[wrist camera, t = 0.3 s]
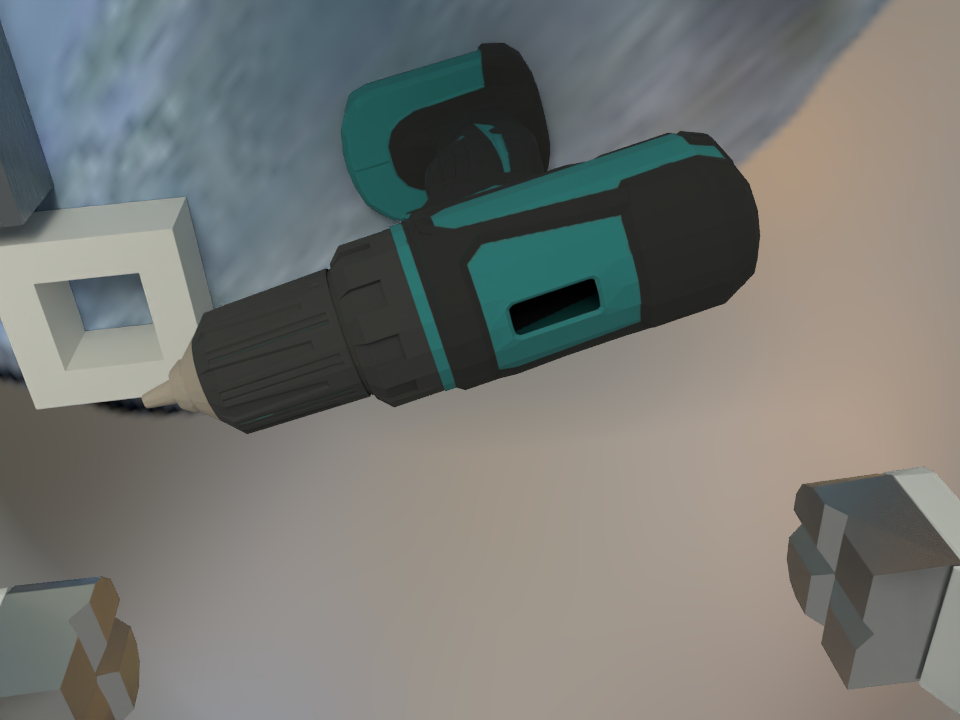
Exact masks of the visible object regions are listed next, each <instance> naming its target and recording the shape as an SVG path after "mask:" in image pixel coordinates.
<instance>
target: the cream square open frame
mask: <svg viewBox="0 0 960 720" xmlns="http://www.w3.org/2000/svg"><path fill="white" fill-rule="evenodd" d="M133 273H139V275H140V278H141V282H142V285H143V289H144V292H145V295H146V299H147V302H148V306H149V309H150V313H151V316H152V320H153V323H154V324H146V325H137V326H128V327H119V328H110V329H100V330H91V331H85V328H84V325H83V323H82V320H81V317H80V314H79V311H78V308H77V305H76V302H75V299H74V296H73V293H72V290H71V287H70V284H69V281H68V280H76V279H86V278H95V277H105V276H114V275H124V274H133ZM211 310H213V305H212V300H211V296H210V292H209V288H208V284H207V280H206V276H205V272H204V268H203V264H202V260H201V256H200V252H199V248H198V244H197V240H196V236H195V232H194V228H193V224H192V219H191V215H190V211H189V207H188V203H187V199H186V197H178V198H168V199H159V200H149V201H139V202H129V203H119V204H109V205H99V206H89V207H79V208H69V209H59V210H49V211H39V212H33V213H32V214H31V216H30V217H29V218H28V219H27V221H26V222H25V223H24V225H18V226H8V227H0V318H1V321H2V323H3V326H4V328H5V331H6V333H7V336H8V339H9V341H10V344H11V346H12V349H13V351H14V354H15V356H16V359H17V362H18V364H19V367H20V369H21V372H22V374H23V377H24V379H25V382H26V385H27V387H28V390H29V392H30V395H31V397H32V400H33V402H34V405H35V407H36V409H43V408H52V407H61V406H70V405H78V404H87V403H96V402H105V401H113V400H122V399H131V398H139V397H142V395H143V394H145V393H146V392H148V391H150V390H152V389H153V388H155V387H157V386H159V385H160V384H162V383H164V382H166V381H167V380H169V376H168V375H169V372H170V370H171V369H172V367H173V366H174V365H175V363H176V362H177V361H178V360H180V359H182V357H183V355H184V353H185V351H186V349H187V347H188V345H189V343H190V341H191V339H192V337H193V335H194V334H195V331H196V329H197V327H198V325H199V322H200V320H201V318H202V315H203V313H205V312H208V311H211Z"/></svg>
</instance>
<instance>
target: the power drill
mask: <svg viewBox="0 0 960 720" xmlns="http://www.w3.org/2000/svg"><path fill="white" fill-rule="evenodd" d="M341 136H342V146H343V155H344V158H345V162H346V165H347V169H348V172H349V174H350V177H351V179H352V181H353V183H354V186H355V188H356V189H357V191H358V192H359V194H360V195H361V197H362V198H363V200H364V201H365V203H366V204H367V205H368V206H369V207H371V208H372V209H374V210H375V211H377V212H378V213H380V214H382V215H384V216H386V217H388V218H390V219H393V220H402V222H401V223H400V224H397V225H394V226H391V227H390V228H389V229H386V230H383V231H382V232H379V233H376V234H373V235H370V236H367V237H364V238H361V239H358V240H355V241H352V242H349V243H346V244H343V245H340V246H338V248H337V250H336V252H335V254H334V257H333V259H332V261H331V263H330V269H329V270H328V269H323V270H320V271H318V272H315V273H312V274H309V275H307V276H304V277H301V278H299V279H296V280H293V281H290V282H288V283H285V284H282V285H279V286H277V287H274V288H271V289H268V290H266V291H263V292H260V293H257V294H255V295H252V296H249V297H246V298H244V299H241V300H238V301H235V302H233V303H230V304H227V305H224V306H222V307H219V308H216V309H213V310H211V311H208V312H205V313H203V315H202V318H201V320H200V322H199V325H198V327H197V329H196V331H195V334H194V335H193V337H192V339H191V341H190V343H189V345H188V347H187V349H186V351H185V353H184V355H183V357H182V359H180V360H178V361H177V362H176V363H175V365H174V366H173V367H172V369H171V370H170V372H169V375H168V376H169V380H167V381H166V382H164V383H162V384H160V385H159V386H157V387H155V388H153V389H152V390H150V391H148V392H146V393H145V394H143V395H142V401H143V404H144V405H145V407H146V408H153V407H158V406H164V405H170V404H176V403H178V405H179V406H180V408H182V409H184V410H188V411H192V412H196V413H198V412H202V413H205V414H207V415H209V416H211V417H214V418H216V419H218V420H220V421H222V422H225V423H227V424H229V425H231V426H233V427H235V428H236V429H238V430H240V431H242V432H244V433H246V434H249V433H252V432H255V431H259V430H262V429H265V428H269V427H272V426H275V425H278V424H282V423H285V422H288V421H292V420H295V419H298V418H301V417H305V416H308V415H311V414H314V413H317V412H321V411H324V410H327V409H330V408H334V407H337V406H340V405H343V404H347V403H350V402H353V401H357V400H360V399H363V398H366V397H370V395H371V394H372V395H375V396H376V398H377V399H379V400H381V401H383V402H385V403H387V404H389V405H391V406H393V407H397V406H399V405H402V404H405V403H408V402H411V401H414V400H417V399H420V398H423V397H426V396H429V395H432V394H435V393H438V392H441V391H444V390H445V391H447V390H450V389H453V388H456V387H457V388H460V389H464V390H467V389H470V388H473V387H476V386H478V385H481V384H484V383H487V382H490V381H493V380H496V379H499V378H502V377H507V376H511V375H515V374H518V373H521V372H524V371H526V370H529V369H532V368H534V367H537V366H540V365H543V364H545V363H548V362H551V361H553V360H556V359H559V358H561V357H564V356H567V355H569V354H573V353H575V352H579V351H581V350H584V349H587V348H590V347H593V346H596V345H599V344H602V343H605V342H608V341H611V340H614V339H617V338H620V337H623V336H626V335H629V334H632V333H636V332H639V331H642V330H645V329H648V328H652V327H657V326H659V325H662V324H666V323H668V322H671V321H674V320H677V319H680V318H683V317H686V316H689V315H692V314H695V313H698V312H701V311H704V310H707V309H710V308H712V307H715V306H719V305H721V304H724V303H726V302H727V301H728V300H729V299H730V298H731V297H732V296H733V294H735V293H736V291H737V290H738V289H739V288H740V287H741V286H743V285H744V284H745V283H746V281H747V280H748V279H749V278H750V277H751V276H752V275H753V274H754V272H755V268H756V263H757V258H758V249H759V240H760V230H759V219H758V210H757V206H756V203H755V200H754V197H753V194H752V191H751V188H750V184H749V183H748V182H747V180H746V179H745V178H744V176H743V175H742V174H741V173H740V171H739V170H738V169H737V168H736V166H735V165H734V163H733V161H732V159H731V158H730V157H729V156H728V155H727V154H726V153H725V152H724V150H723V149H722V148H721V147H720V146H719V145H718V144H717V143H716V141H715V140H714V139H713V138H712V137H710V136H709V135H708V134H704V133H695V132H684V131H680V132H678V133H677V134H674V133H666V134H663V135H660V136H657V137H654V138H651V139H648V140H645V141H642V142H639V143H636V144H633V145H630V146H627V147H624V148H621V149H618V150H615V151H612V152H609V153H606V154H603V155H600V156H598V157H597V158H595V159H593V160H590V161H587V162H582V163H576V164H570V165H565V166H562V167H559V168H556V169H553V170H550V171H547V170H548V166H549V158H550V142H549V136H548V130H547V125H546V120H545V116H544V111H543V107H542V103H541V99H540V96H539V92H538V89H537V86H536V83H535V81H534V78H533V75H532V72H531V71H530V69H529V67H528V66H527V64H526V63H525V61H524V60H523V58H522V56H521V55H520V53H519V52H518V51H516V50H515V49H513V48H511V47H510V46H508V45H506V44H505V43H488V44H481V45H480V46H479V47H478V51H475V52H472V53H468V54H465V55H462V56H458V57H455V58H452V59H448V60H445V61H442V62H438V63H435V64H432V65H428V66H425V67H422V68H418V69H415V70H412V71H408V72H405V73H401V74H398V75H395V76H391V77H388V78H385V79H381V80H378V81H375V82H371V83H368V84H365V85H364V86H362V87H360V88H359V89H357V90H355V91H353V92H352V93H351V94H350V95H349V98H348V102H347V105H346V109H345V114H344V119H343V123H342V128H341Z"/></svg>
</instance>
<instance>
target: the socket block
mask: <svg viewBox="0 0 960 720" xmlns="http://www.w3.org/2000/svg"><path fill="white" fill-rule="evenodd" d="M53 187H54V184H53V181H52V178H51V175H50V172H49V169H48V166H47V163H46V160H45V157H44V154H43V151H42V148H41V145H40V142H39V139H38V135H37V132H36V129H35V126H34V123H33V120H32V117H31V114H30V111H29V108H28V105H27V102H26V99H25V96H24V93H23V90H22V87H21V83H20V80H19V77H18V74H17V71H16V68H15V65H14V62H13V59H12V56H11V53H10V50H9V47H8V44H7V41H6V38H5V34H4V31H3V28H2V25H1V22H0V227H8V226H18V225H24V223H25V222H26V221H27V219H28V218H29V217H30V216H31V214H32V213H33V212H34V211H35V209H36V208H37V207H38V206H39V204H40V203H41V202H42V200H43V199H44V198H45V197H46V195H47V194H48V193H49V192H50V190H51V189H52V188H53Z"/></svg>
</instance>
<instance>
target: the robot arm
mask: <svg viewBox="0 0 960 720" xmlns="http://www.w3.org/2000/svg"><path fill="white" fill-rule="evenodd" d="M794 511H795V513H796V515H797V516H798V518H799V519H800V521H801V523H802V525H801V526H800V527H799V528H798V529H797V530H796V531H795V532H794V533H793V534H792V535H791V536H790V537H789V544H788V553H787V563H788V570H789V577H790V582H791V585H792V588H793V591H794V593H795V596H796V599H797V600H798V602H799V604H800V606H801V608H802V610H803V611H804V613H805V614H806V615H807V616H809V617H810V618H812V619H814V620H815V621H817V622H819V623H820V624H822V625H823V626H824V632H823V637H822V642H821V644H822V646H823V647H824V649H825V651H826V653H827V655H828V656H829V658H830V660H831V662H832V663H833V665H834V667H835V669H836V670H837V672H838V674H839V676H840V677H841V679H842V681H843V683H844V685H845V686H846V688H847V689H855V688H864V687H872V686H881V685H889V684H897V683H905V682H914V681H920V682H919V685H920V686H921V687H923V688H924V689H925V690H927V691H928V692H929V693H931V694H932V695H933V696H935V697H936V698H937V699H939V700H940V701H941V702H943V703H944V704H945V705H947V706H948V707H949V708H951V709H952V710H953V711H955V712H956V713H957V714H959V715H960V500H959V499H958V498H957V497H956V496H955V494H954V493H953V492H952V491H951V490H950V489H949V488H948V487H947V485H946V484H945V483H944V482H943V481H942V480H941V479H940V477H939V476H938V475H937V474H936V473H935V472H934V471H932V470H930V469H928V468H926V467H924V466H923V467H916V468H910V469H903V470H896V471H890V472H884V473H882V474H872V475H864V476H857V477H850V478H843V479H836V480H829V481H822V482H815V483H807V484H802V486H801V487H800V489H799V490H798V492H797V494H796V499H795V505H794ZM119 601H120V599H119V596H118V594H117V592H116V590H115V587H114V585H113V583H112V581H111V579H109V578H106V577H103V576H101V577H92V578H83V579H74V580H64V581H56V582H47V583H36V584H27V585H18V586H14V587H10V588H0V720H124V719H125V718H126V717H127V716H128V715H129V714H130V713H131V711H132V710H133V709H134V706H135V702H136V698H137V693H138V688H139V665H140V661H139V654H138V649H137V644H136V640H135V637H134V634H133V632H132V630H131V627H130V626H129V625H127V624H125V623H124V622H122V621H120V620H119V619H117V618H116V617H115V615H116V612H117V608H118V605H119Z"/></svg>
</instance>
